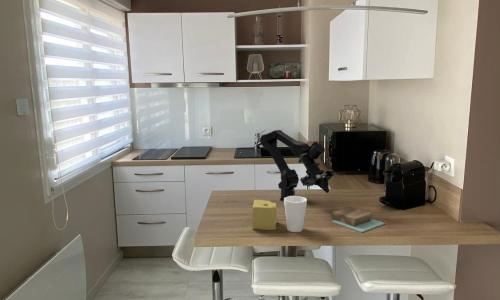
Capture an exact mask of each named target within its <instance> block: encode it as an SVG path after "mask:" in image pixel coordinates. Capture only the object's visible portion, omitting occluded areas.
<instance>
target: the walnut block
mask: <svg viewBox="0 0 500 300" xmlns="http://www.w3.org/2000/svg"><path fill="white" fill-rule="evenodd" d="M331 213H332V214H331V219H332V221H333V220H336V221H339V222H342V223H345V224H347V225H350V226H353V227H356V226H358V225H361V224H364V223H366V222H369V221H371V219H372V215H373V213H372V212H369V211H366V210H362V209H359V208H356V207H352V206H347V207H343V208H340V209H337V210H334V211H332V212H331Z"/></svg>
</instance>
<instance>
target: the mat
mask: <svg viewBox="0 0 500 300" xmlns="http://www.w3.org/2000/svg"><path fill="white" fill-rule="evenodd" d="M331 223H333V224H336V225H339V226H343V227H345V228H348V229H350V230H353V231H357V232H360V233H365V232H367V231H370V230H372V229H374V228H375V229H376V228H378V227H380V226H383V225H385V222H383V221H381V220H376V219H372V218H371V221H369V222H366V223H364V224H361V225H358V226H356V227H353V226H350V225H347V224H345V223H342V222H339V221H336V220H333V219H332V220H331Z"/></svg>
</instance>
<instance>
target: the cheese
mask: <svg viewBox="0 0 500 300" xmlns="http://www.w3.org/2000/svg"><path fill="white" fill-rule="evenodd" d="M277 209H278V207H277V202H272V201H270V200H265V199H264V200H263V199H253V204H252V211H251V213H252V218H251V220H252V223H251V224H252V225H251V226H252V230H264V231H265V230H266V231H269V230H270V231H276V229H277V228H276V227H277V223H278V222H277V221H278V214H277Z"/></svg>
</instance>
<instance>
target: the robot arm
mask: <svg viewBox="0 0 500 300" xmlns="http://www.w3.org/2000/svg"><path fill="white" fill-rule="evenodd" d="M278 141H279V142H280V143H282V144H284V145H285V146H287V147H289V149H290V151H291V152H292V153H293V154H294V155H295V156H297V157H299V156H302V157H299V159H298V164H303V165H304V166H303V167H305V173H306V175H304V176H302V177H300V178H299V175H298V173H297V171H296V170H295V169H294V168H293V169H291V168H290V166H288V164H287V162H286V160H285V159H284V156H283V154H282V153H281V151H280V150H279V147H278ZM259 142H260V144H261V146H262V147H263V148H264V149H265V150H267V151H268V152H269V154H270V155H271V157H272V159H273V161H274V163H275V165H276V167H277V169H278V170H279V172H280V181H279V183H278V184H277V186H278V189H280V198H279V201H283V202H284V198H285V197H289V196H296V191H295V188H297V186H298V184H299V181H300V182H301V184H302V186H304V187H305V186H306V187H312V186H317V187H319V188H320V190H321V189H322V190H323V191H324V192H325V193H326V194H328V193H329V192H330V186H329V181H330V180H331V179H333V177H334V176H335V175H336V174H337V173H336V171H335V169H328V170H326V171H325V170H324V169H321V167H320V166H321V164H320V162H317V161H316V160H318V159H320V157H321V156H322V155H323V154H324V153H325V151H326V148H325V147H324V146H323V145H322V144H320V143H318V142H317V141H314V142H313V143H312V144H311V145H309V144H308V143H307V142H304V141H300V140H296V139H294V138H293V137H292V136H291V135H288V134H287V133H285V132H283V130H281V129H276V130H275V129H274V130H273V131H270V132H269V133H266V134H262V135H260V137H259Z"/></svg>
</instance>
